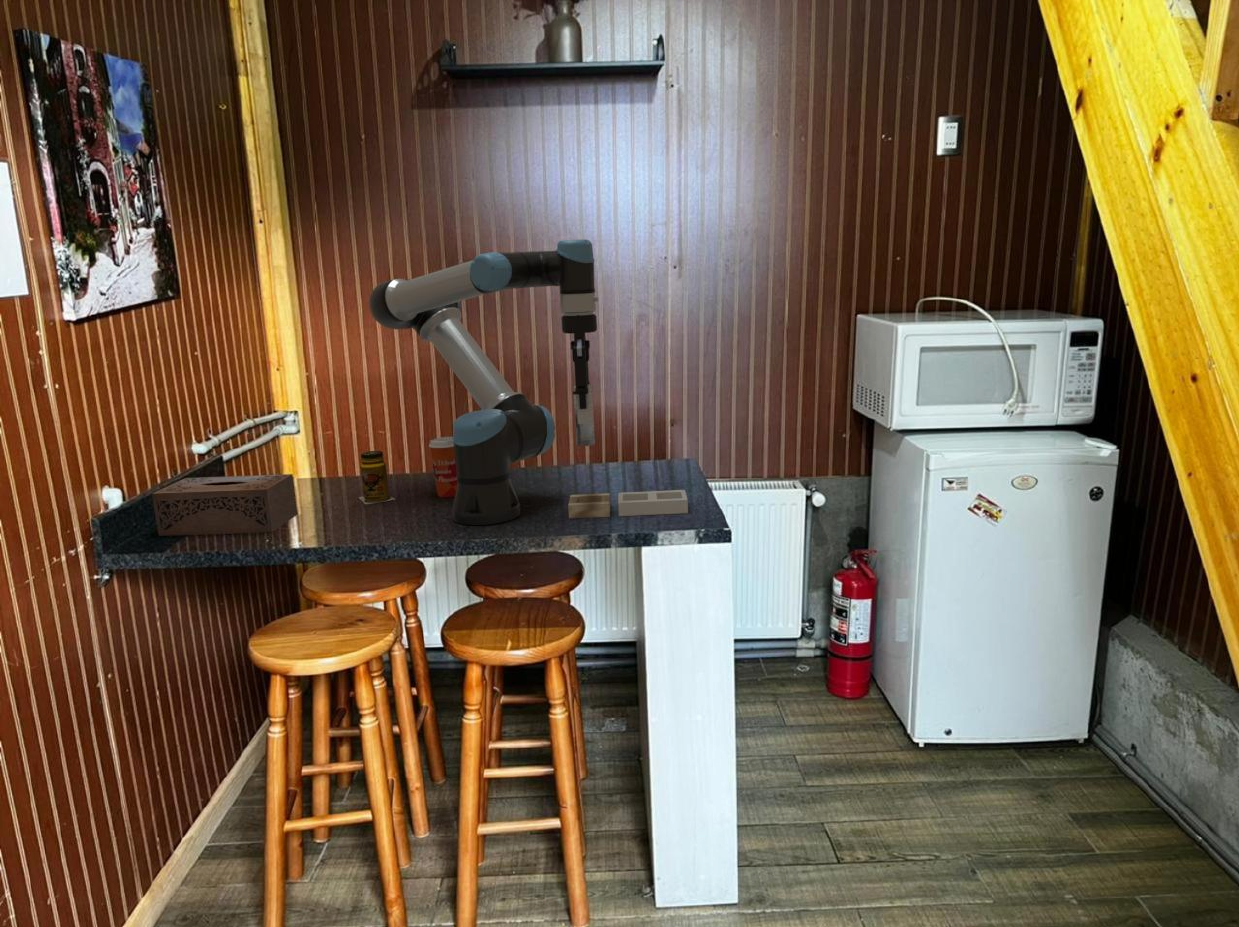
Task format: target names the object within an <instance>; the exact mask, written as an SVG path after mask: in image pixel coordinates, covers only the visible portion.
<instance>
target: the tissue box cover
mask: <svg viewBox="0 0 1239 927" xmlns="http://www.w3.org/2000/svg"><path fill="white" fill-rule="evenodd" d="M294 481H295V480H294V475H293V473H287V474H283V473H282V474H265V475H264V474H262V475H261V474H260V475H259V474H258V475H257V474H256V475H238V476H237V475H235V476H234V475H233V476H232V475H231V476H230V475H229V476H207V477H205V476H204V477H185V478H183V479H180V480H178V481H175V482H174V483H171V484H169V485H168V486H165V487H163V488H161V489H159V490H157V491H155V492H152V493H151V496H152V503H153V510H154V514H155V521H156V527H157V535H158V536H159V537H164V536H165V537H167V536H168V537H170V536H193V535H194V536H196V535H197V536H198V535H199V536H200V535H218V534H219V535H225V534H226V535H228V534H257V533H260V532H262V533H274V532H275V531H276V530H278V529H279V528H280V527H282V526H284V525H285V524H286V523H287V522H289V521H291V520H292V519H293V518H295V517H296V516H297V515H299V513H298V506H297V505H298V504H297V498H296V497H297V496H296V489H295V483H294Z"/></svg>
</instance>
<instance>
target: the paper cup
mask: <svg viewBox="0 0 1239 927" xmlns="http://www.w3.org/2000/svg"><path fill="white" fill-rule="evenodd" d="M428 447H429V448H430V454H431V461H432V468H433V474H434V479H435V480H434V481H435V486H436V493H437V497H439V498H453V497H454V498H455V495H456V491H457V487H458V480H457V469H456V459H455V450H454V442H453V436H444V437H443V436H442V437H437V438H434V439H431V440H429V444H428Z"/></svg>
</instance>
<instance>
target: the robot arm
mask: <svg viewBox="0 0 1239 927" xmlns="http://www.w3.org/2000/svg"><path fill="white" fill-rule="evenodd" d="M556 246H557V247H556V248H557V249H556V250H544V251H543V250H542V251H534V250H531V251H516V252H515V251H514V252H496V251H491V252H490V251H489V252H486V253H480V254H477V255H476V256H475V257H474V259H473V260H470V261H466V262H463V263H459V264H455V265H453V266H449V267H446V268H444V269H440V270H437V271H434V272H431V273H427V274H424V275H421V276H417V277H415V278H412V279H411V278H410V279H403V278H396V279H390V280H387V281H383V282H381V283H379V284H378V285H377V286H375V287H374V288H373V289H372V290H371V293H370V296H369V300H368V304H369V306H368V307H369V310H370V314H371V316H372V317H373V318H374V320H375V321H376V322H377V323H378V324H379V325H381V326H382V327H385V328H387V329H391V330H407V329H413V330H414V331H415V332H416V334H417V335H418V336H419V338H420V339H421V340H422V341H423V342H427V343H432V344H433V346H434V347H435V349H436V350H437V352H439V354H440V356H442V359H444V361H445V362H446V364H447V365H448V366H449V367H450V369H451V370H452V372H453V373H454V374H455V375H456V377H457V378H458V380H459V381H460V382H461V383H462V385H463V386H464V387H465V389H466V390H467V391H468V393H469V394H470V396H471V397H472V398H473V400H474V401H475V403H476V404H477V405H478V406H479V408H480V410H474V411H471V412H467V413H464V414H462V415H459V417H457V418H456V419H455V421H454V422H453V426H452V427H453V428H452V430H453V434H452V435H453V436H452V437H453V442H454V450H455V459H456V469H457V480H458V487H457V491H456V495H455V496H454V500H453V505H452V509H451V511H452V512H451V513H452V521H453V522H455V523H458V524H461V525H469V526H485V525H486V526H487V525H495V524H501V523H505V522H508V521H511V520H514V519H516V518H518V517H520V515H521V504H520V500H519V499H518V496H517V494H516V491H515V489H514V486H513V484H512V482H511V476H510V475H511V473H510V472H511V471H510V464H514V463H516V462H517V463H518V462H520V461H523V460H528V459H533V458H536V457H538V456H539V455H542V454H544V453H546V452H547V451H548V450H550V448H551V447H552V445H553V443H554V442H555V436H556V432H555V431H556V423H555V420H554V417H553V415H552V413H551V412H550V410H549V409H547V408H546V407H545V406H543V405H538V404H533V405H532V402H530V401H529V399H528V398H527V397H526V395H525V394H524V393H522V392H516V391H514V390H513V388H511V386H510V385H509V384H508V382H507V380H506V379H505V377H503V375H502V374H501V373H500V371H499V370H498V369H497V368H496V366H495V364H494V363H492V361H491V360H490V358H489V357H488V356H487V354H486V353H485V352H484V351H483V348H481V347H480V345H479V344H478V343H477V341H476V340H475V339H474V337H473V336H472V335H471V333H470V332H469V331H468V330H467V328H466V327H465V325H464V324H463V323H462V322H461V319H462V312H461V308H462V306H461V302H463V301H467V300H469V299H473V298H476V297H477V298H478V297H480V296H483V295H484V296H485V295H489V294H492V293H496V292H499V291H503V290H505V291H506V290H511V289H512V290H513V289H525V288H526V289H527V288H529V289H530V288H541V287H543V288H544V287H559V302H560V303H559V305H560V313H561V314H563V315H562V316H561V319H560V320H561V331H562V333H564V334H568V335H569V334H573V340H572V341H571V342H570V349H571V351H572V353H571V354H572V356H571V357H572V361H573V364H574V381H575V385H576V388H575V391H574V390H573V391H572V395H574V394H576V401H577V419H578V424H589V423H590V407H589V393H588V392H589V391H588V385H591V384H590V378H589V360H590V348H591V346H590V345H591V343H590V340H589V339H588V340H587V338H586V336H587V335H586V334H589V333H595V332H596V331H597V330H598V326H597V325H598V322H597V321H598V320H597V318H598V317H597V315H596V314H595V313H594V312H596V311H597V308H596V307H597V306H596V303H597V302H599V297H598V296H596V289H595V258H594V249H593V243H592V242H591V241H590V240H589V239H568V240H567V239H565V240H559V241H558V242H557V245H556Z"/></svg>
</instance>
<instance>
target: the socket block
mask: <svg viewBox="0 0 1239 927" xmlns="http://www.w3.org/2000/svg"><path fill="white" fill-rule="evenodd" d="M567 506H568V507H567V508H568V519H585V518H586V519H589V518H590V519H591V518H610V517H611V494H610V493H607V492H606V493H587V494H585V493H584V494H583V493H582V494H570V495H569V499H568V504H567Z"/></svg>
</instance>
